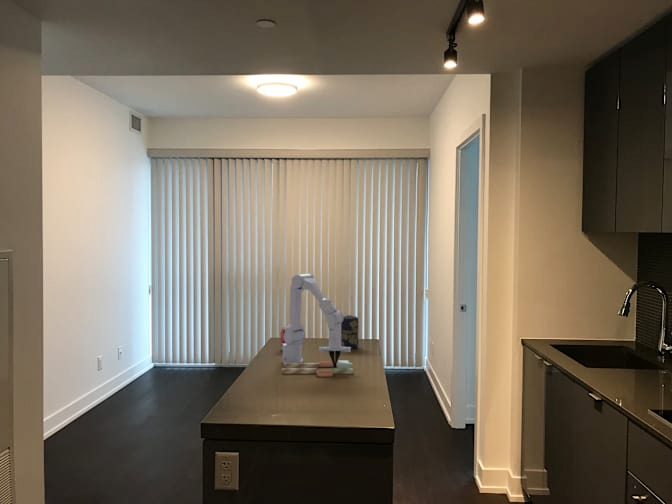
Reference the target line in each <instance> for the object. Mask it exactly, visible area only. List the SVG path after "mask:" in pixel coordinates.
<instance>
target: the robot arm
mask: <svg viewBox="0 0 672 504" xmlns="http://www.w3.org/2000/svg"><path fill="white" fill-rule="evenodd" d="M305 290H306V291H309V292H310V293H311V294H312V296H314V298H315V299H316V301H318V308H320V310H321V312H322V313H323V314H324V315H325V317H326V318H325V322H326V324H327V328H328V346H319V347H318V352H319V353H324V352H325V353H328V355H329V357H330V359H331V362H332V363H333V367H332V369H333V368H336V365H337V363H338V360H339V358H340V357H341V352H342V353H345V352H346V353H347V352H348V353H351V352H352V351H351V349H352V348H351V347H342V346H341V323H342V322H343V320H344V314H343V312H342V311H340V310H338V309H337V308H336V307H335V306H334V304H333V303H332V300H331V299H329V298H326V297H325V296H324V293H323V292H322V291H321V289H320V287H319V285H318V283H317V279H316V277H315V276H314V275H313V274H312V273H303V274H302V273H300V274H299V273H297V274H295V275H294V276H292V278H291V285H290V288H289V323H288V324H287V325H286V326H285V327H286V328H285V333H284V341H285V342H286V343H285V344H283V350H282V364H284V363H303V361H304V358H302V357H303V348H302V347H303V342H304V340H305V337H306V333H305V328H304V325H303V324H302V323H301V322H302V321H301V319H302V293H303V291H305Z"/></svg>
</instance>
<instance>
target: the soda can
mask: <svg viewBox="0 0 672 504" xmlns="http://www.w3.org/2000/svg"><path fill="white" fill-rule="evenodd" d="M286 327H287V326H285V327H281V330H280V336H279V337H280V343H279V344H280V350H282V351H283V344H285V343H286V342H285V341H284V333H285V328H286Z"/></svg>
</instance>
